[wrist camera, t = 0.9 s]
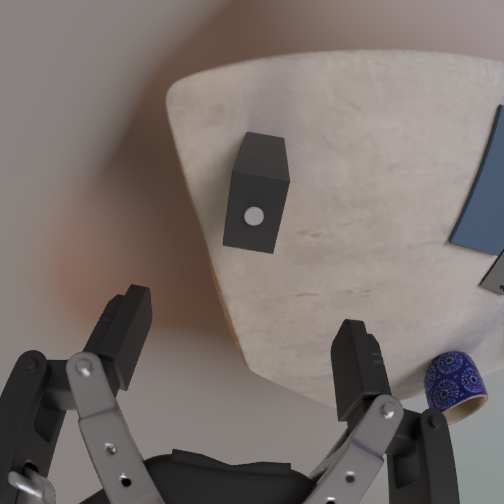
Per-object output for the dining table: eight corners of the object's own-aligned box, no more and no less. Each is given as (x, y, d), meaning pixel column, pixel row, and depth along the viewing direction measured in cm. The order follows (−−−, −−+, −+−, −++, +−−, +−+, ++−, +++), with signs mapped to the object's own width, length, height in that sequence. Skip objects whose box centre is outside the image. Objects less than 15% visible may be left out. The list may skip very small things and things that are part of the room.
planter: (465, 367, 47) (480, 412, 38) (417, 384, 50) (429, 432, 41) (473, 336, 42) (495, 386, 33) (420, 356, 45) (436, 411, 35)
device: (246, 131, 27) (231, 172, 18) (284, 138, 27) (290, 182, 18) (238, 184, 30) (221, 248, 21) (273, 190, 30) (272, 257, 21)
